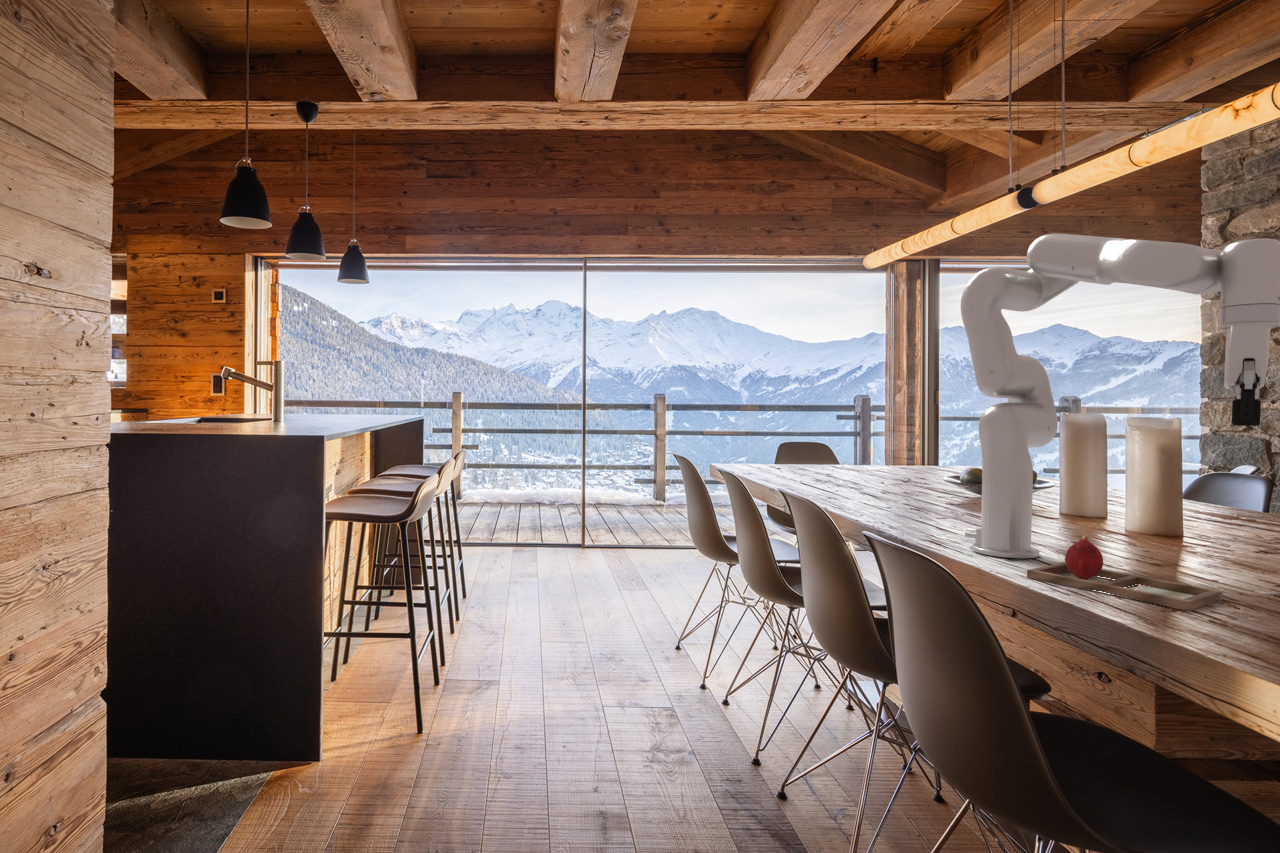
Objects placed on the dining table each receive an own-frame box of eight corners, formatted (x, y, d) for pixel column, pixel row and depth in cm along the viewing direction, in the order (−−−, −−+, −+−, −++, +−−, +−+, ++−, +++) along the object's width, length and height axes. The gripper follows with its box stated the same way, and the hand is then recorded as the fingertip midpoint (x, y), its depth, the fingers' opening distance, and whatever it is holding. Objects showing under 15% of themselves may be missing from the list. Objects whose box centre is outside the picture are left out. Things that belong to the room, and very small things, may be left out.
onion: (1108, 586, 125) (1109, 539, 124) (1071, 584, 126) (1073, 538, 125) (1094, 578, 130) (1095, 534, 130) (1059, 576, 131) (1060, 532, 131)
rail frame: (1026, 577, 130) (1027, 569, 130) (1063, 569, 137) (1064, 562, 137) (1188, 611, 109) (1189, 601, 109) (1222, 599, 116) (1222, 591, 116)
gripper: (1219, 325, 125) (1215, 424, 126) (1220, 314, 111) (1215, 425, 112) (1276, 322, 120) (1272, 425, 121) (1285, 311, 107) (1280, 426, 107)
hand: (1245, 425), depth 116 cm, fingers open, 9 cm apart
